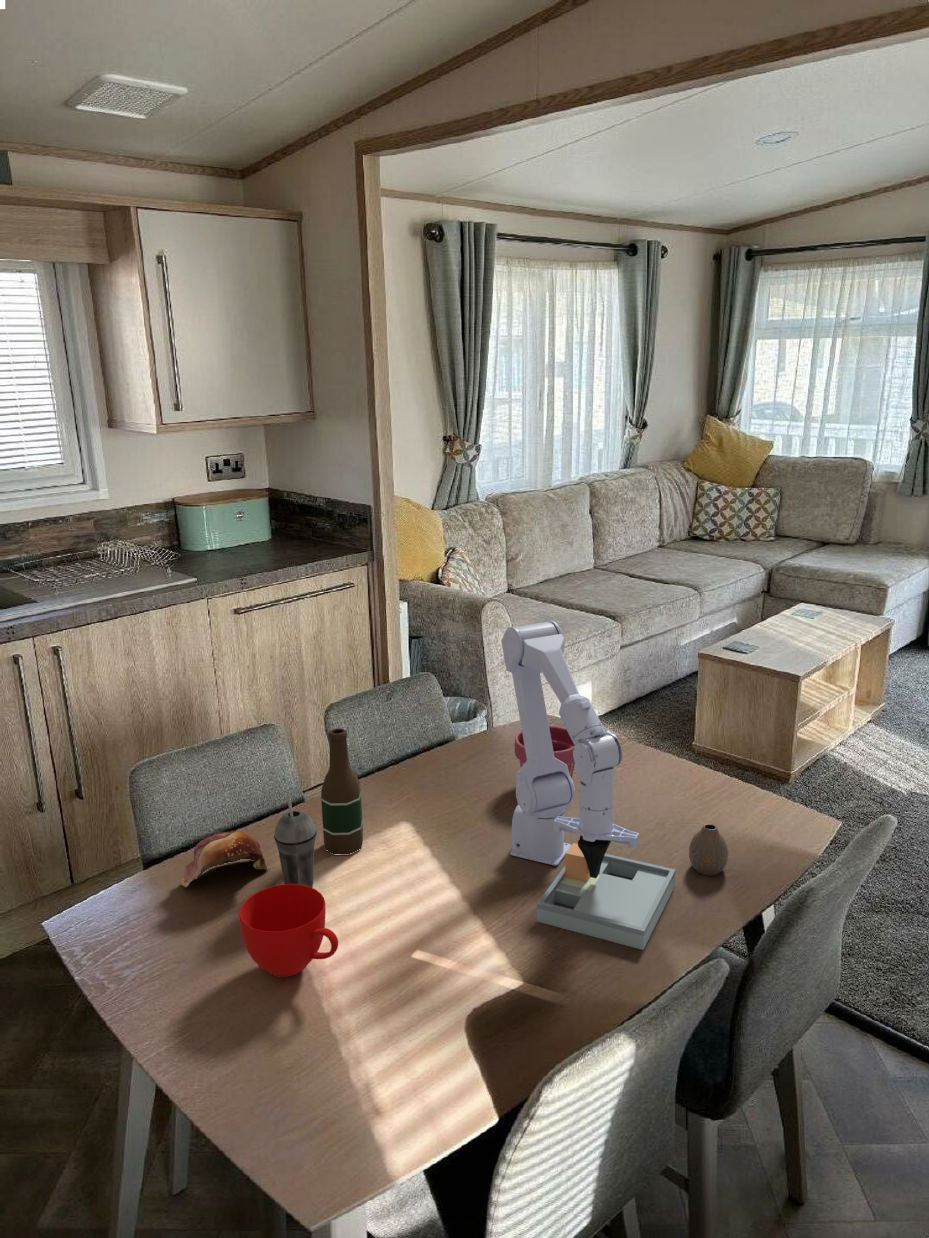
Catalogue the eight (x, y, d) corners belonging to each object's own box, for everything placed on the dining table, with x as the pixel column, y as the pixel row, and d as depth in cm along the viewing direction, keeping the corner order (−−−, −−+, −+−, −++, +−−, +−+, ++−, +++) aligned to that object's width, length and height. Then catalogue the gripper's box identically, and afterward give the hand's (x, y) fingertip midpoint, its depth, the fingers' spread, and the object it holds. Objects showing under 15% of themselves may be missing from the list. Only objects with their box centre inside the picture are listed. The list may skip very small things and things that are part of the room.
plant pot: (583, 807, 189) (584, 750, 185) (516, 808, 189) (515, 751, 186) (576, 777, 203) (577, 724, 199) (513, 778, 203) (513, 725, 199)
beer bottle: (316, 852, 173) (308, 735, 166) (336, 833, 180) (330, 720, 173) (352, 859, 170) (345, 741, 164) (371, 840, 177) (365, 726, 170)
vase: (728, 882, 161) (731, 837, 158) (688, 878, 162) (691, 834, 160) (725, 862, 167) (728, 819, 165) (687, 858, 169) (689, 816, 166)
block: (565, 876, 159) (565, 853, 157) (573, 865, 162) (573, 842, 161) (586, 881, 157) (587, 857, 156) (594, 870, 160) (594, 847, 159)
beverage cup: (328, 887, 161) (322, 784, 156) (305, 908, 155) (297, 802, 149) (294, 878, 164) (287, 777, 159) (270, 899, 158) (261, 794, 152)
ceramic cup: (309, 1011, 130) (305, 951, 127) (226, 972, 139) (220, 915, 136) (365, 962, 140) (362, 905, 138) (284, 929, 149) (280, 875, 146)
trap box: (537, 921, 150) (537, 903, 149) (578, 863, 167) (578, 847, 166) (643, 950, 142) (644, 931, 141) (674, 886, 159) (675, 869, 159)
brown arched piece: (263, 854, 172) (260, 807, 170) (278, 888, 161) (274, 837, 159) (177, 873, 166) (172, 824, 164) (186, 909, 155) (180, 857, 153)
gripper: (547, 804, 152) (546, 876, 156) (631, 822, 146) (628, 896, 149) (562, 788, 158) (561, 857, 162) (643, 803, 152) (640, 875, 156)
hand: (594, 874), depth 156 cm, fingers closed
